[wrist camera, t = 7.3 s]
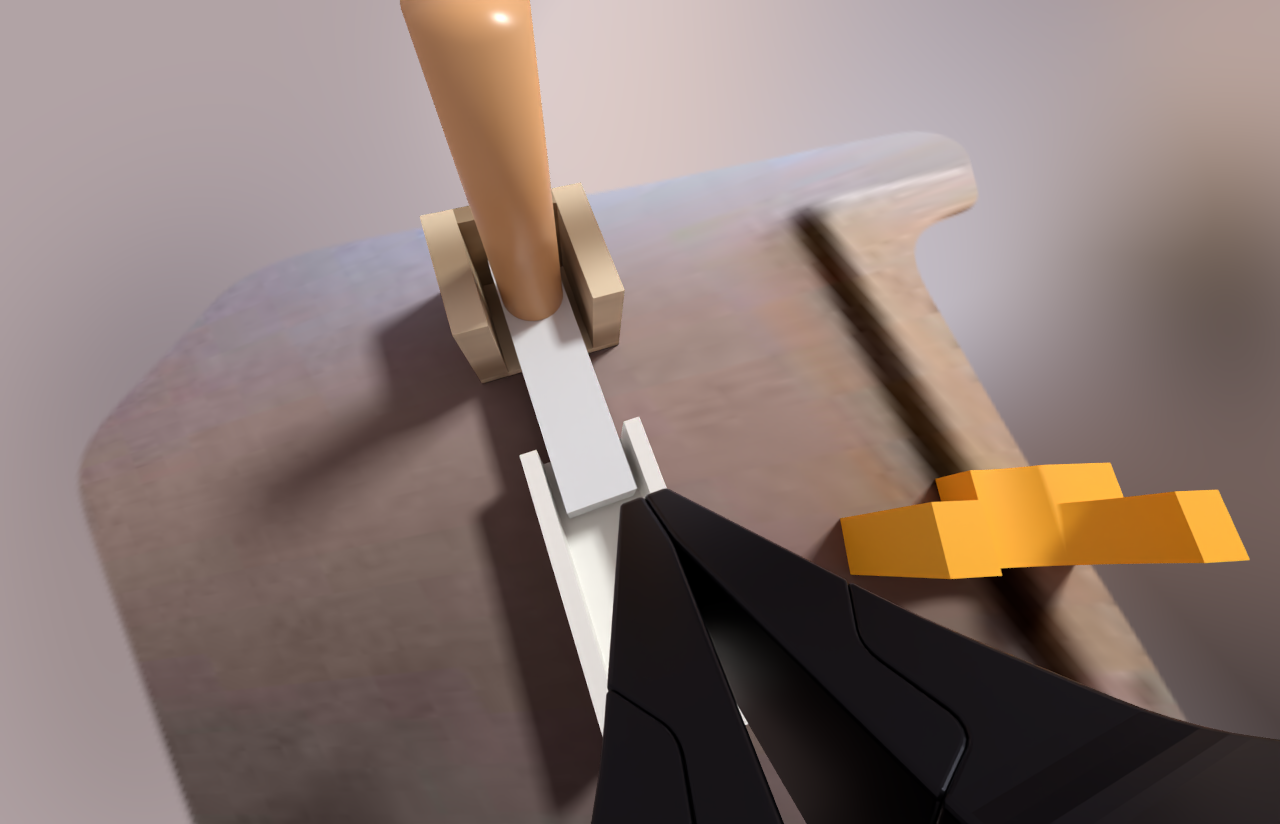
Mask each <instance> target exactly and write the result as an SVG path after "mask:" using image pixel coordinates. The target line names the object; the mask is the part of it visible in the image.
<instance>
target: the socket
mask: <svg viewBox="0 0 1280 824" xmlns="http://www.w3.org/2000/svg"><path fill="white" fill-rule="evenodd" d="M551 192H552V201H553V210H554V219H555V228H556V236H557V245H558V254H559V263H560V272H561V280H562V283H563V286H564V289H565V292H566V294H567V297H568V300H569V303H570V305H571V308H572V311H573V314H574V316H575V319H576V322H577V325H578V327H579V330H580V333H581V336H582V338H583V341H584V344H585V346H586V349H587V352H588V353H591V352H594V351H598V350H601V349H604V348H608V347H611V346H615V345H618V344H619V335H620V326H621V317H622V308H623V300H624V291H625V290H624V288H623V285H622V283H621V280H620V278H619V275H618V273H617V271H616V268H615V266H614V263H613V261H612V258H611V256H610V253H609V251H608V248H607V246H606V244H605V241H604V239H603V236H602V234H601V231H600V229H599V226H598V224H597V221H596V219H595V216H594V214H593V212H592V209H591V207H590V204H589V202H588V199H587V197H586V194H585V192H584V190H583V187H582V185H581V183H576V184H572V185H567V186H562V187H557V188H552V189H551ZM420 219H421V223H422V227H423V230H424V234H425V238H426V241H427V245H428V248H429V252H430V256H431V259H432V263H433V267H434V270H435V274H436V278H437V281H438V285H439V289H440V292H441V296H442V300H443V303H444V307H445V311H446V314H447V318H448V322H449V325H450V329H451V333H452V336H453V337H454V339H455V341H456V342H457V344H458V345H459V347H460V349H461V350H462V352H463V354H464V355H465V357H466V358H467V360H468V362H469V363H470V365H471V367H472V368H473V370H474V371H475V373H476V375H477V376H478V378H479V379H480V381H481V383H486V382H489V381H493V380H496V379H500V378H503V377H507V376H510V375H514V374H517V373H521V372H522V369H521V366H520V363H519V359H518V356H517V353H516V350H515V347H514V343H513V340H512V337H511V334H510V331H509V328H508V324H507V321H506V318H505V315H504V312H503V309H502V305H501V302H500V299H499V296H498V293H497V289H496V286H495V283H494V280H493V277H492V274H491V270H490V267H489V264H488V261H487V260H488V258H487V255H486V252H485V249H484V246H483V243H482V241H481V238H480V235H479V232H478V229H477V226H476V223H475V220H474V218H473V215H472V212H471V209H470V206H466V207H461V208H456V209H451V210H446V211H442V212H437V213H432V214H427V215H422V216H420Z"/></svg>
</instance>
